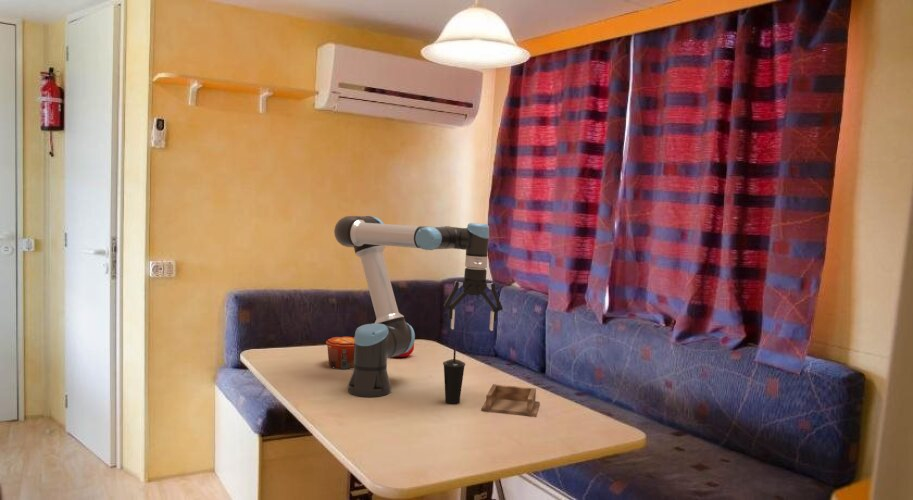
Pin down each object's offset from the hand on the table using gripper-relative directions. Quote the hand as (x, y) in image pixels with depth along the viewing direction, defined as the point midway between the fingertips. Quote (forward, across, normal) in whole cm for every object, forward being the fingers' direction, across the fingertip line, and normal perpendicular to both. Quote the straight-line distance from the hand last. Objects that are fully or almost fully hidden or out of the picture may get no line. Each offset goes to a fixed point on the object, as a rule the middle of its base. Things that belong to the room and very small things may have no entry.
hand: (471, 329), depth 225 cm
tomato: (+26, -22, +64) cm, 73 cm away
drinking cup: (+25, -6, -4) cm, 26 cm away
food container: (+27, -44, +46) cm, 70 cm away
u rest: (+24, +14, -9) cm, 29 cm away
